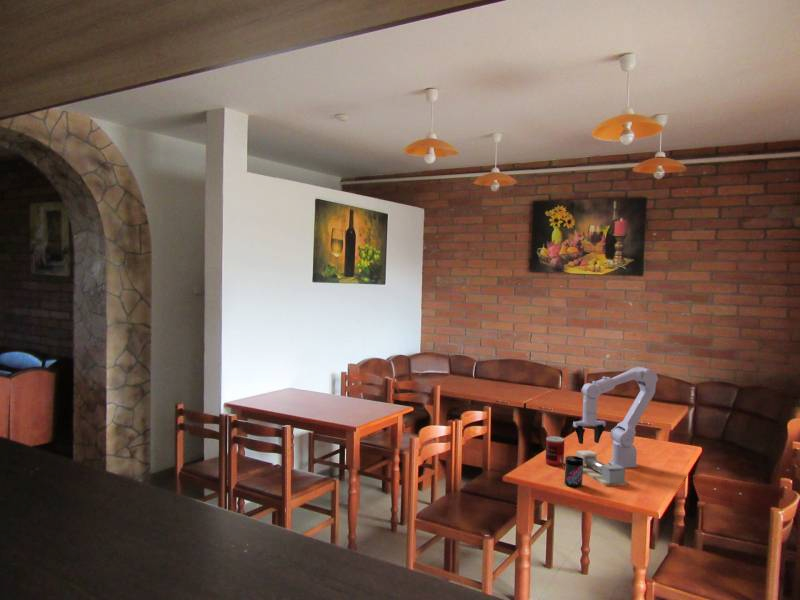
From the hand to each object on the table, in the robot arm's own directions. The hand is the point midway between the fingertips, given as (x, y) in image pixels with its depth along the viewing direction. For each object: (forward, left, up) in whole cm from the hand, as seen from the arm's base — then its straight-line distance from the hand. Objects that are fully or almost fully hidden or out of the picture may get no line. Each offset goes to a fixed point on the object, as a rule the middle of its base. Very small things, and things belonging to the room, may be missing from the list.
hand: (588, 442), depth 248 cm
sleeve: (+2, +2, -10) cm, 10 cm away
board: (+2, +10, -10) cm, 14 cm away
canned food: (+13, -5, -10) cm, 17 cm away
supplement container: (+19, +20, -10) cm, 29 cm away
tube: (+2, +12, -9) cm, 15 cm away
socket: (+2, +21, -9) cm, 23 cm away
